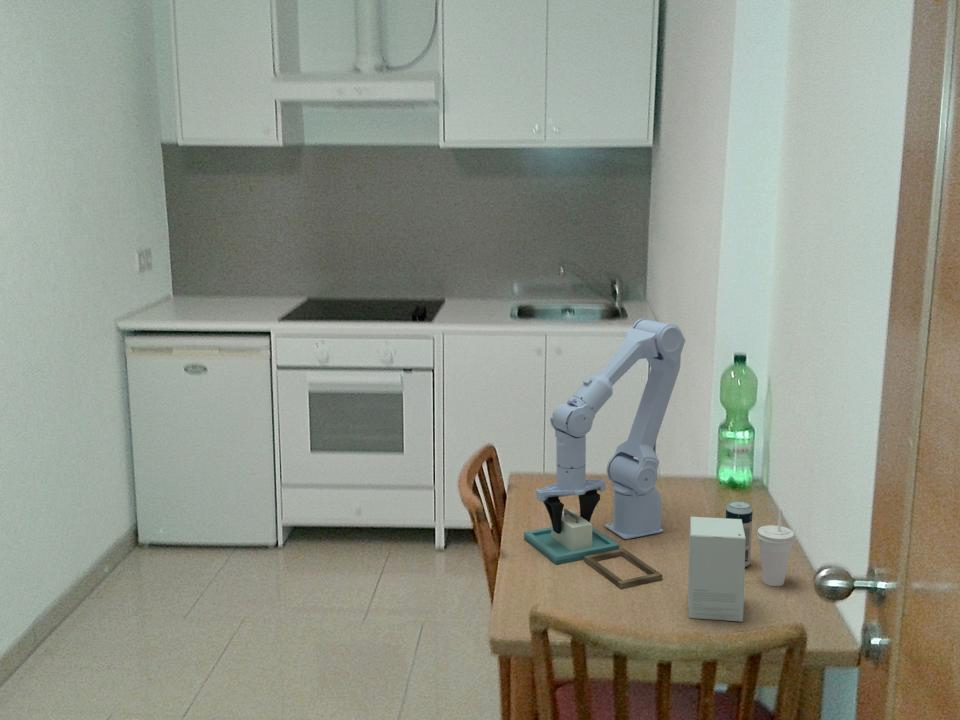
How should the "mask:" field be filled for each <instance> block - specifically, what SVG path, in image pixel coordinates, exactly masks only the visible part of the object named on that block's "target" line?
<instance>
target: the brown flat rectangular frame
mask: <svg viewBox="0 0 960 720" xmlns="http://www.w3.org/2000/svg"><path fill="white" fill-rule="evenodd" d="M617 557H623V558H624V559H625V560H627V561H628V562H629V563H632V564H633V566H634V565H635V567H637V568H638V569H640V570H641V571H643V572H644V573H646V574H647V575H642V576H637V577H633V578H628V579H622V578H620V577H619V576H617V575H616V574H615V573H614V572H612V571H611V570H609V569H608V568H607V567H606V566H604V565H602V563H600V562H598V561H602V560H608V559H612V558H617ZM583 562H585V563H586V564H587V565H589V566H590V567H591V568H592V569H593V570H595V571H596V572H598V573H599V574H601V575H602V576H603V577H605V579H608V581H610V582H611V583H612V584H614V585H615V586H617V587H618V588H619V589H627V588H632V587H635V586H641V585H644V584H645V585H646V584H649V583H654V582H658V581H662V580H663V574H662V573H661V572H660V571H658V570H656V569H655V568H653V567H651V566H650V565H649V564H647V563H646V562H645V561H643V560H641V559H640V558H638V557H637V556H635V555H634V554H633V553H632V552H629V550H627V549H625V548H619V549H618V550H613V551H608V552H603V553H598V554H593V555H588V556H584V559H583Z"/></svg>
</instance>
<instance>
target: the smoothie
mask: <svg viewBox="0 0 960 720" xmlns="http://www.w3.org/2000/svg"><path fill="white" fill-rule="evenodd" d="M777 511H778V514H777V525H772V524H771V525H763V526H760V527H759V528H758V529H757V532H756V533H757V534H756V536H757V538H758V540H759V543H758V544H759V552H760V562H761V563H760V564H761V566H760V567H761V577H762V583H764V584H765V585H767V586H770V587H781V586H784V584H785V580H786V574H787V569H788V563H789V558H790V554H791V549H792V543H793V542H794V540H795V533H794V530H792V529H791V528H788V527H786V526H782V516H783V515H782V514H783V511H782V508H780V507H779V508H778V510H777Z"/></svg>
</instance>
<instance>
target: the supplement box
mask: <svg viewBox="0 0 960 720" xmlns="http://www.w3.org/2000/svg"><path fill="white" fill-rule="evenodd" d="M689 518H690V519H689V536H688V537H689V538H688V539H689V540H688V579H687V580H688V584H687V585H688V590H687V599H688V604H687V605H688V618H689V619H699V620H700V619H701V620H712V621H714V620H715V621H716V620H717V621H728V622H740V623H741V622H744V605H745V604H744V603H745V601H744V600H745V570H746V567H745V544H746V537H745V533H744V528H743V524H742V519H727V518H726V517H725V518H722V517H721V518H720V517H707V516H706V517H704V516H703V517H702V516H690V517H689Z"/></svg>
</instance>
